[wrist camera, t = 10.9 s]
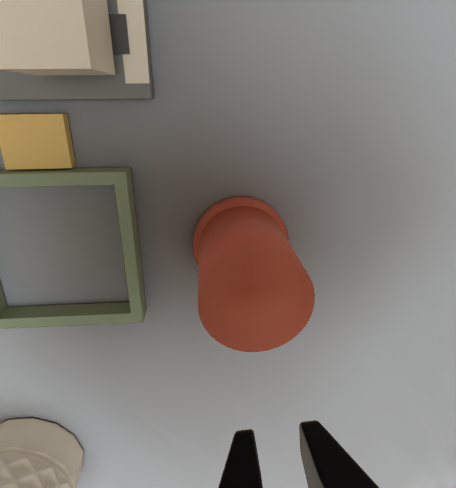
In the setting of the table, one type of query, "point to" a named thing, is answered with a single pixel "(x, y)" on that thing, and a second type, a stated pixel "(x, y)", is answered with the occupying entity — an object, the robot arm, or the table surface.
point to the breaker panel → (98, 86)
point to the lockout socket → (63, 174)
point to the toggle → (56, 37)
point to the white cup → (38, 455)
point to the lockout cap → (249, 276)
